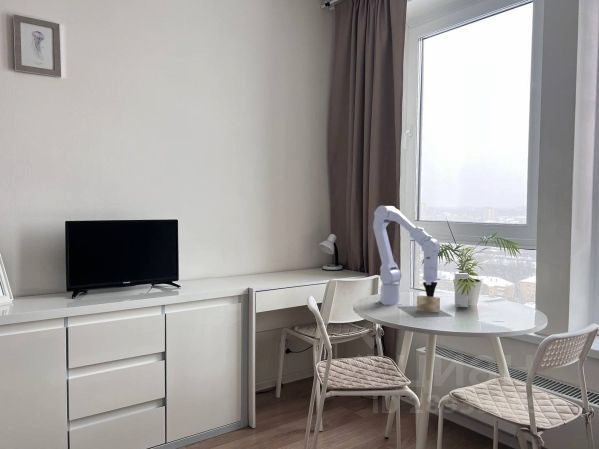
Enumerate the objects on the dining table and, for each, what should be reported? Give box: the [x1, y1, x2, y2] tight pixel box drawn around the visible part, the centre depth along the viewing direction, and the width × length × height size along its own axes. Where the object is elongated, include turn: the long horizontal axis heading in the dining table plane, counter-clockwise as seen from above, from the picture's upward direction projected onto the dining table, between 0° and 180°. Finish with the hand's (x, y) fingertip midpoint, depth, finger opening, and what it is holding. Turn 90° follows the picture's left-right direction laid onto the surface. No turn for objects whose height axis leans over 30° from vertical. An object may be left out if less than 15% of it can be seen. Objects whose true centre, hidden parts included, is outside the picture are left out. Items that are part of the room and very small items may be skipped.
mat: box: [396, 305, 453, 318], centre depth 192 cm, size 20×16×1 cm
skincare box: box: [454, 271, 470, 308], centre depth 204 cm, size 8×6×15 cm
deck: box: [416, 295, 441, 312], centre depth 192 cm, size 9×2×6 cm, turn 68°
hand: (430, 299), depth 197 cm, fingers closed
